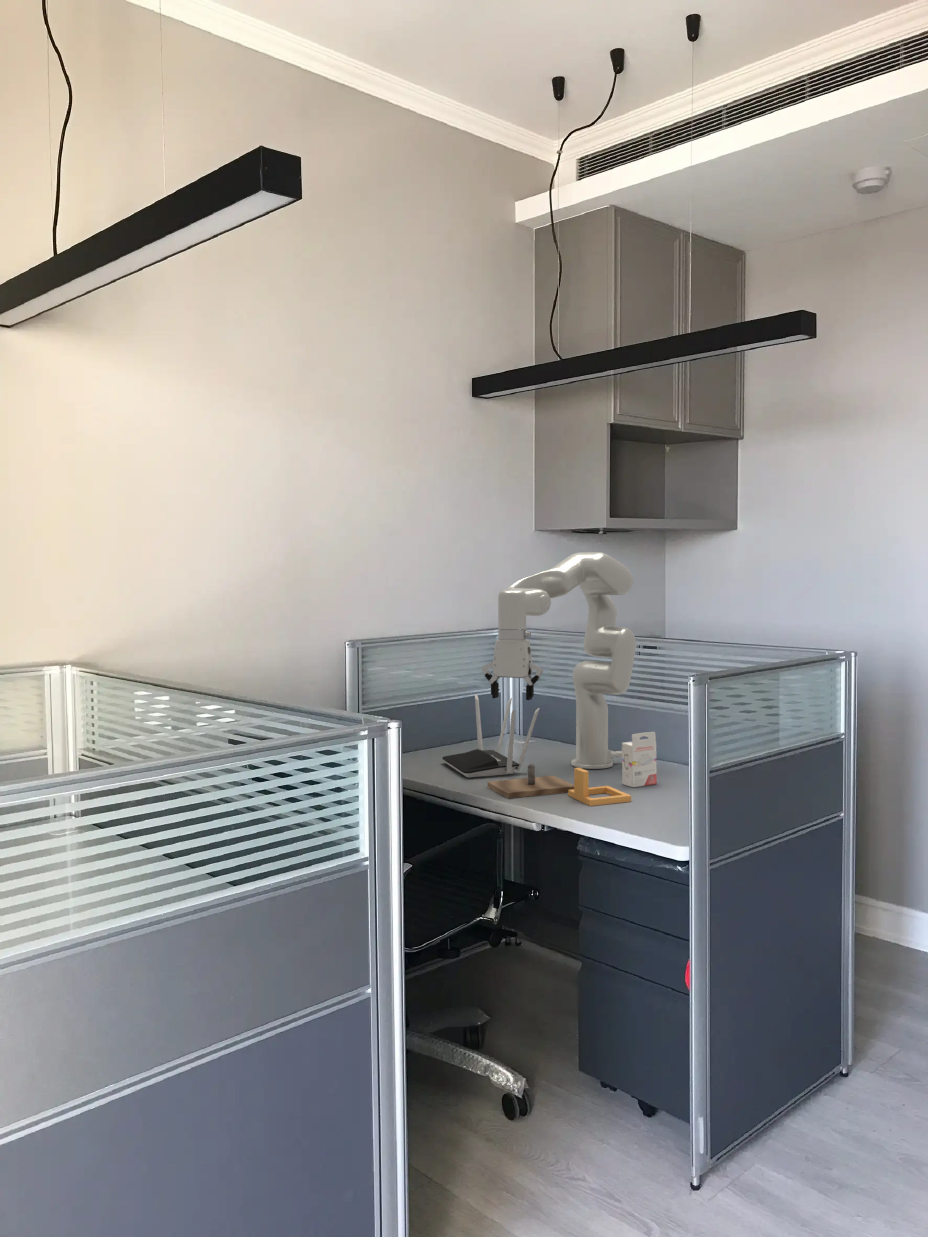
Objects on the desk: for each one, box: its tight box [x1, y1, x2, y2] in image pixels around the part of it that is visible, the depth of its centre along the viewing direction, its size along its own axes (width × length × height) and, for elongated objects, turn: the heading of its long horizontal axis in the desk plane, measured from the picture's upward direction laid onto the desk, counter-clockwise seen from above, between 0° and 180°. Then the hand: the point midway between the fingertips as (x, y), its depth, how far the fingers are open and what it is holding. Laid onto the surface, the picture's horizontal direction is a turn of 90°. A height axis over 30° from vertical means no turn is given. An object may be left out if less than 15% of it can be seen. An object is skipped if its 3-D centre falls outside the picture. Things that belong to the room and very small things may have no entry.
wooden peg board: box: [487, 763, 574, 799], centre depth 267 cm, size 20×14×7 cm
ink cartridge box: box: [621, 731, 658, 788], centre depth 272 cm, size 9×5×15 cm, turn 117°
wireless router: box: [441, 694, 540, 779], centre depth 294 cm, size 34×23×20 cm
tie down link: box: [567, 767, 632, 807], centre depth 256 cm, size 12×12×8 cm
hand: (512, 698), depth 266 cm, fingers open, 9 cm apart
